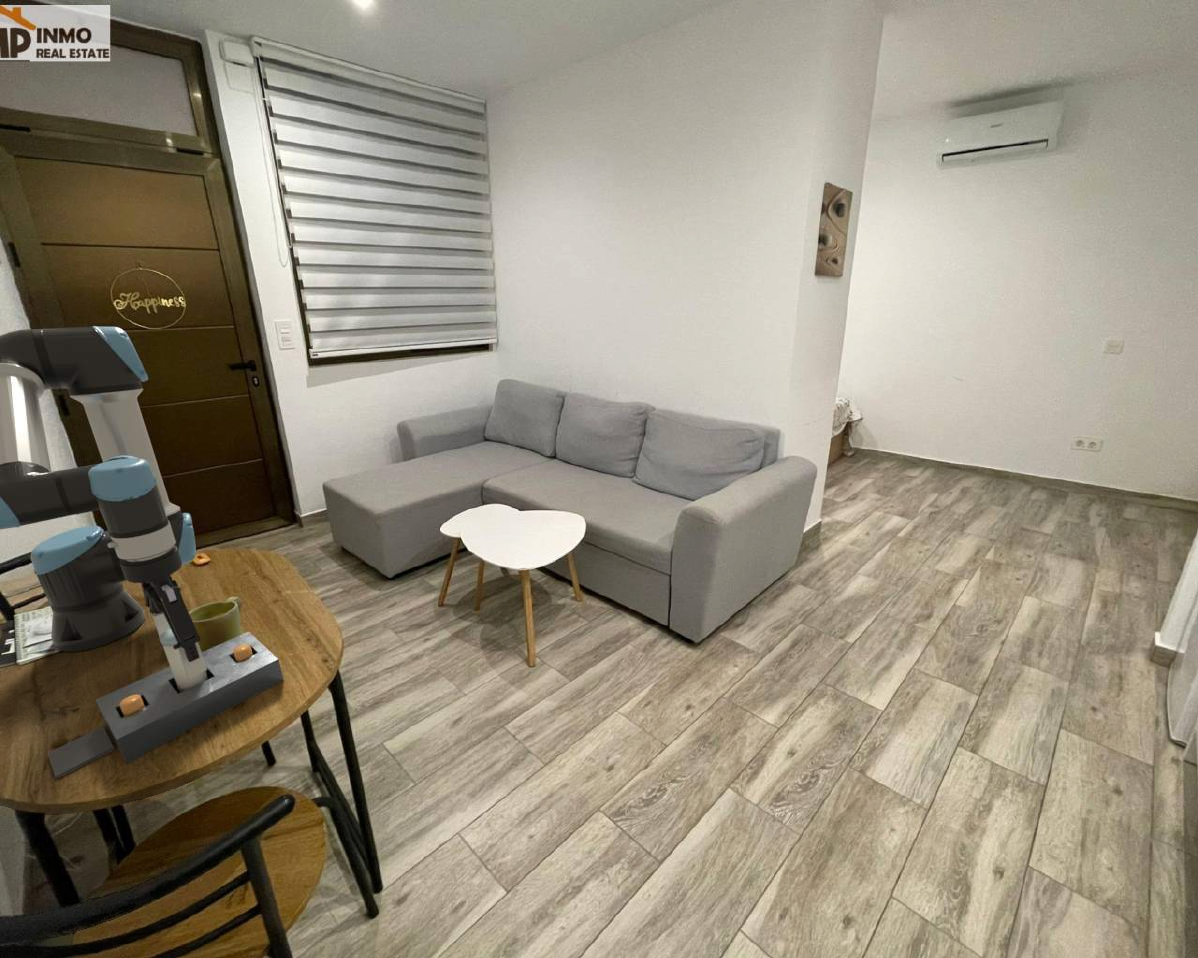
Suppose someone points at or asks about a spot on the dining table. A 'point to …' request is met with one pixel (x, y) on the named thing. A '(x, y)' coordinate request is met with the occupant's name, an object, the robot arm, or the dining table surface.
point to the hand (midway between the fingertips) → (184, 657)
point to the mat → (80, 752)
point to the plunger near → (131, 704)
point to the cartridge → (179, 664)
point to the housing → (188, 697)
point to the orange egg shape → (242, 652)
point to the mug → (217, 622)
